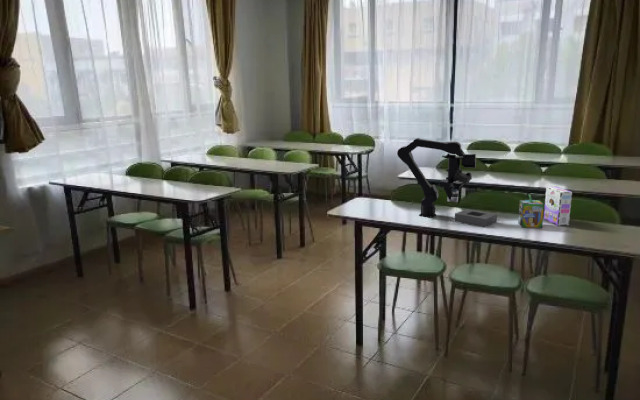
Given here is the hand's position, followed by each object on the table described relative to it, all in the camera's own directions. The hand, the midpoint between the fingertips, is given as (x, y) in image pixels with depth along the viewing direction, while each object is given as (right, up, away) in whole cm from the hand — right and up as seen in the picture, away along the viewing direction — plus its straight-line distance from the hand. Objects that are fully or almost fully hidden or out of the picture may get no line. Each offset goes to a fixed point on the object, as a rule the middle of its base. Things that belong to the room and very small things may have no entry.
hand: (452, 198), depth 247 cm
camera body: (+9, -12, -7) cm, 16 cm away
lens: (0, -2, 0) cm, 2 cm away
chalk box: (+33, -13, -14) cm, 38 cm away
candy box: (+48, -12, -9) cm, 50 cm away
